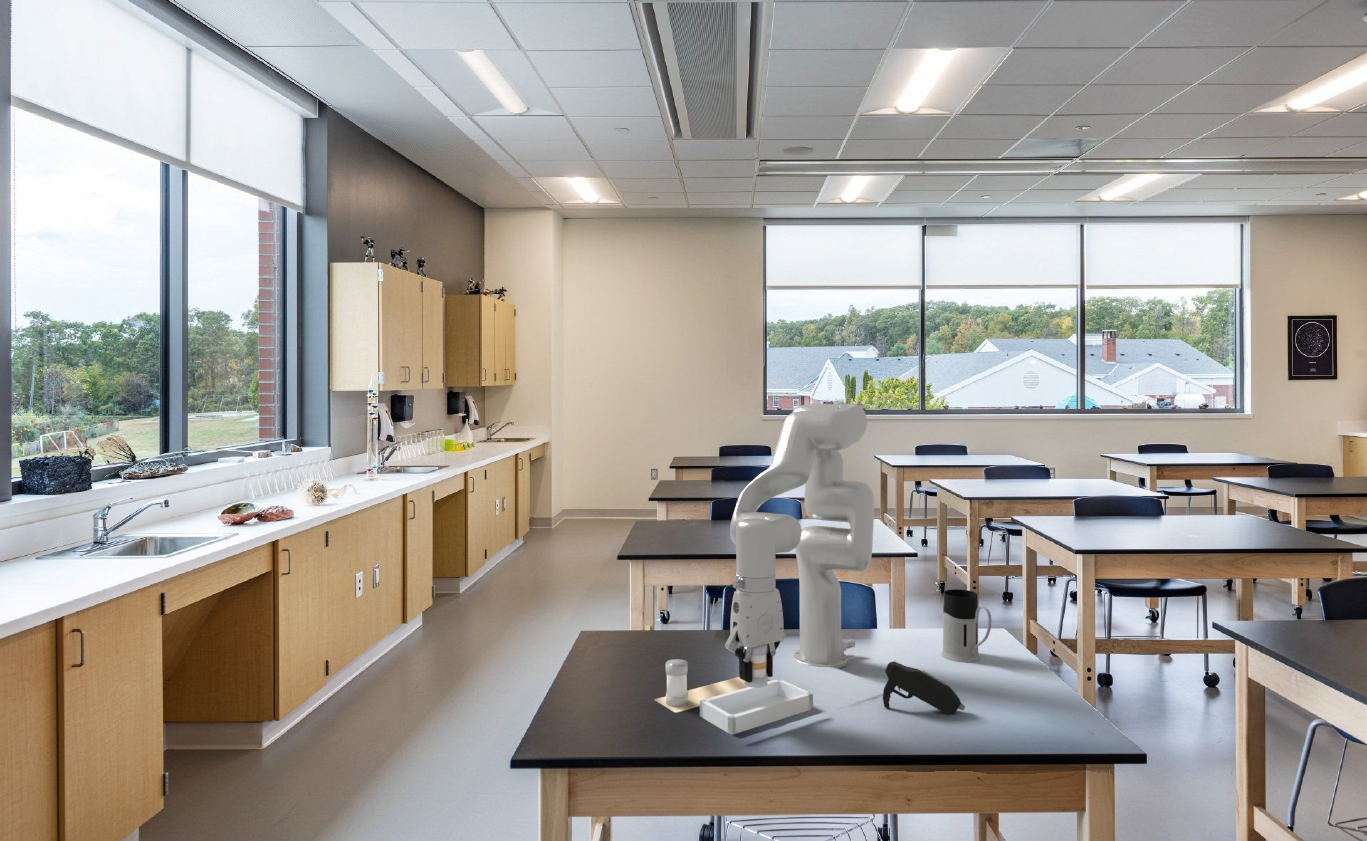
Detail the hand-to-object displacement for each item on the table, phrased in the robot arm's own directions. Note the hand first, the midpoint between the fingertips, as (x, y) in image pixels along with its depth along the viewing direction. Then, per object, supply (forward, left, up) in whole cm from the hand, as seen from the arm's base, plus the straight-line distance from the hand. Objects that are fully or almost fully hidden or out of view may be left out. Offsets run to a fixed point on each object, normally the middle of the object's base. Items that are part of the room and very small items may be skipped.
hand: (756, 676), depth 151 cm
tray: (0, 0, -8) cm, 8 cm away
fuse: (+10, -13, -7) cm, 18 cm away
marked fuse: (0, 0, -1) cm, 1 cm away
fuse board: (0, -13, -8) cm, 15 cm away
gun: (-29, +16, -8) cm, 34 cm away
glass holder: (-61, +3, -8) cm, 62 cm away
